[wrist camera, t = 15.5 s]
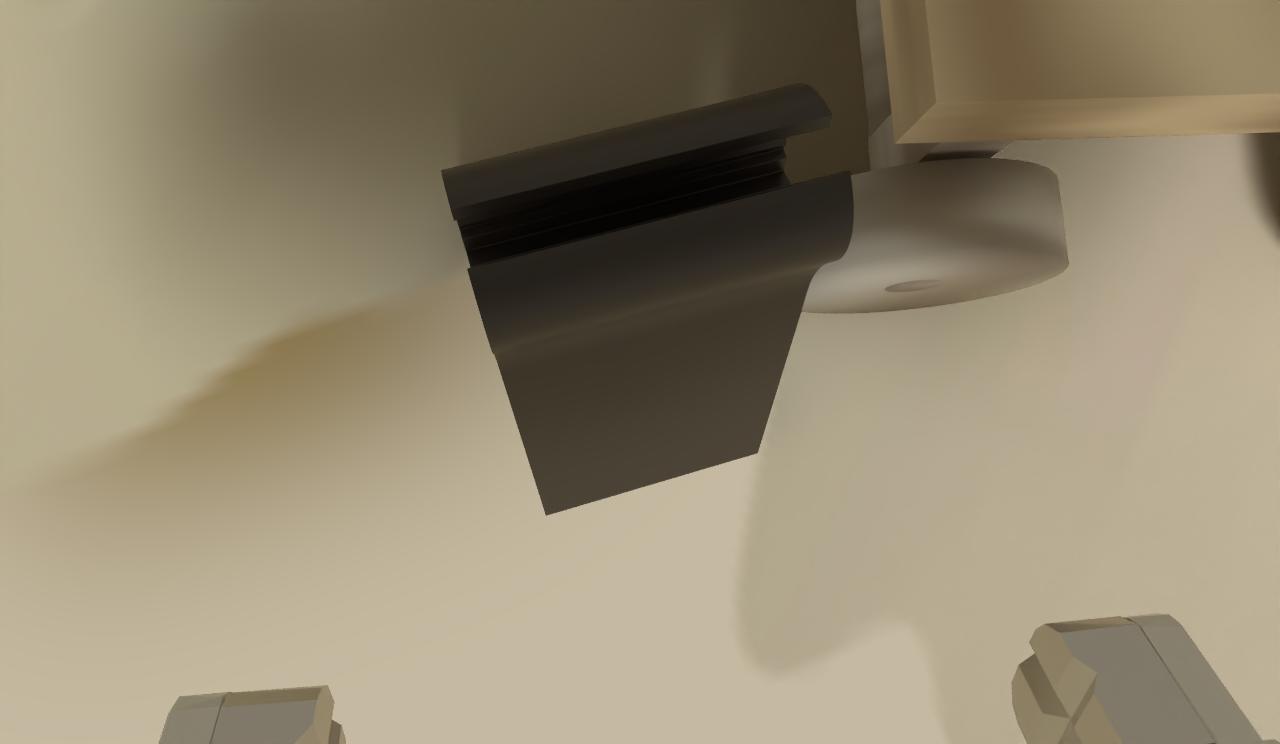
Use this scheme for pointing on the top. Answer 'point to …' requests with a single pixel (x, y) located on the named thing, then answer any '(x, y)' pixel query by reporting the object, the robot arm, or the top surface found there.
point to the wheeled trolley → (1022, 128)
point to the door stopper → (648, 286)
